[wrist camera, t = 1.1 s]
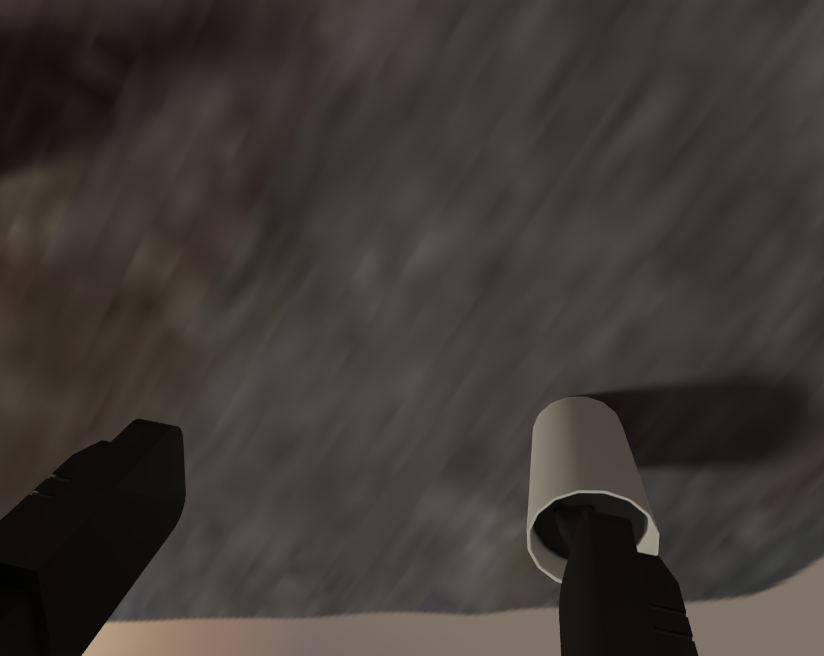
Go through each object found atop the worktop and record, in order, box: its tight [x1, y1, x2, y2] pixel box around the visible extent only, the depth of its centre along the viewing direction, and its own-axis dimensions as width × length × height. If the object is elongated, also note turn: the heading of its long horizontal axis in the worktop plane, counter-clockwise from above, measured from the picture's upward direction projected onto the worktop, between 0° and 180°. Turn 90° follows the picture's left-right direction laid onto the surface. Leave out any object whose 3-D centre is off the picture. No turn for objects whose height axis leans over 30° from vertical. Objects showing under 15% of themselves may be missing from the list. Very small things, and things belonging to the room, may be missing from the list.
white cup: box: [527, 397, 659, 583], centre depth 37 cm, size 7×7×10 cm
